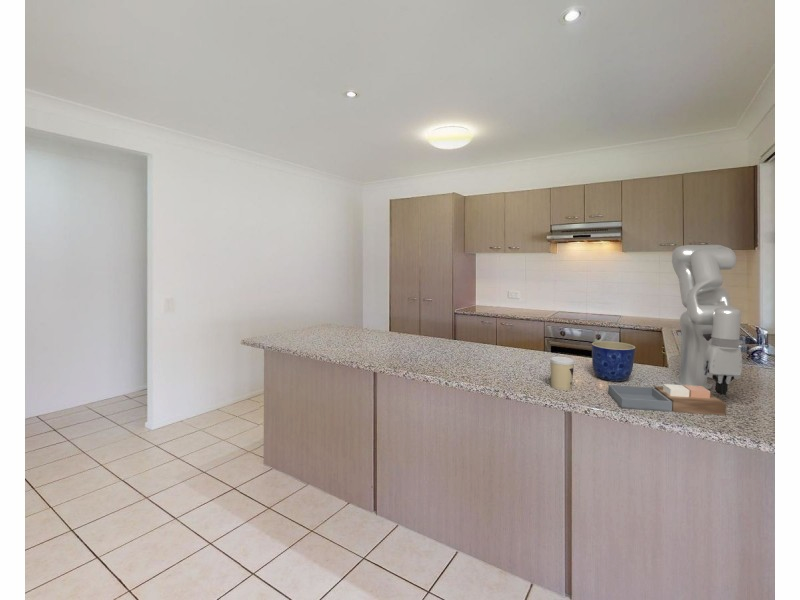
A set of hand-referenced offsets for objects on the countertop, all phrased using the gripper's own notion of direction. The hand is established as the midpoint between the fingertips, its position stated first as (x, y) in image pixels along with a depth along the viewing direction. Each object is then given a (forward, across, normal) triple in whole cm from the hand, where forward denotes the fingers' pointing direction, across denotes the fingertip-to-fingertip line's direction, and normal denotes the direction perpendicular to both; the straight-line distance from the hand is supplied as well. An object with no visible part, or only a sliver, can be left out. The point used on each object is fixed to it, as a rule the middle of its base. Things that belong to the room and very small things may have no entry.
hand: (721, 393), depth 143 cm
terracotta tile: (+1, +8, 0) cm, 8 cm away
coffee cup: (+5, +51, -13) cm, 53 cm away
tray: (+5, +27, 0) cm, 27 cm away
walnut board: (+5, +10, 0) cm, 11 cm away
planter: (+5, +27, -30) cm, 41 cm away
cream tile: (+1, +14, 0) cm, 14 cm away
